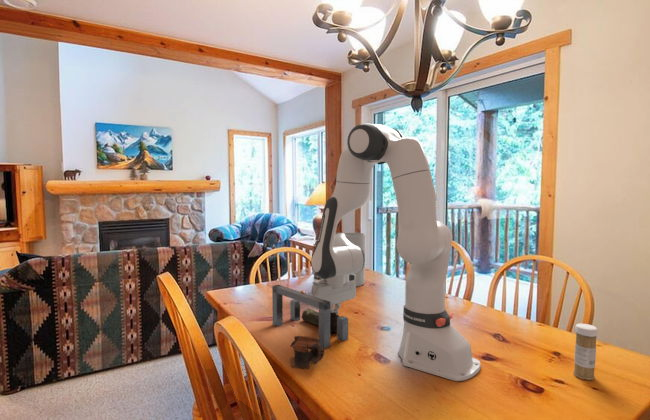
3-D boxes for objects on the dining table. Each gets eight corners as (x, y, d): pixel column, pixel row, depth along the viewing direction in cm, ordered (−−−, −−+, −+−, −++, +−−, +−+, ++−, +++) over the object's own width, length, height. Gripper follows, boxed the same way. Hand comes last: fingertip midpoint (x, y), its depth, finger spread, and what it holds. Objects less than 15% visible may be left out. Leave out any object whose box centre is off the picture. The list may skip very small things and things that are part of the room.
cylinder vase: (362, 280, 192) (362, 232, 190) (366, 286, 180) (367, 235, 178) (338, 280, 191) (338, 232, 190) (341, 287, 179) (341, 236, 177)
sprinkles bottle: (585, 371, 98) (588, 322, 98) (599, 381, 94) (602, 329, 93) (569, 372, 98) (571, 322, 97) (581, 381, 94) (584, 329, 93)
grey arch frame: (331, 346, 114) (331, 299, 113) (324, 349, 111) (324, 301, 110) (279, 322, 133) (279, 282, 132) (272, 324, 131) (272, 284, 130)
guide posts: (347, 339, 119) (348, 317, 118) (342, 341, 117) (342, 319, 116) (295, 317, 138) (295, 299, 137) (290, 319, 136) (290, 300, 136)
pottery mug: (280, 365, 102) (285, 334, 106) (303, 370, 108) (307, 340, 112) (311, 368, 95) (315, 334, 98) (335, 372, 101) (338, 341, 104)
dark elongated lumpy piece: (301, 321, 134) (301, 306, 134) (315, 317, 139) (315, 303, 138) (333, 337, 121) (333, 320, 120) (348, 332, 125) (348, 315, 125)
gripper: (318, 284, 122) (318, 325, 123) (359, 274, 136) (358, 311, 137) (306, 281, 127) (305, 320, 128) (346, 271, 141) (346, 307, 142)
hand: (333, 315), depth 133 cm, fingers closed
